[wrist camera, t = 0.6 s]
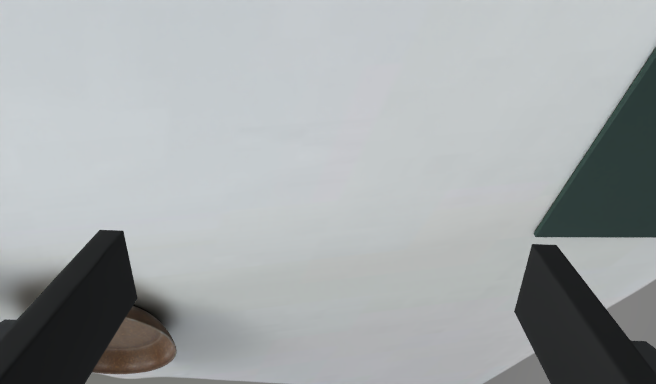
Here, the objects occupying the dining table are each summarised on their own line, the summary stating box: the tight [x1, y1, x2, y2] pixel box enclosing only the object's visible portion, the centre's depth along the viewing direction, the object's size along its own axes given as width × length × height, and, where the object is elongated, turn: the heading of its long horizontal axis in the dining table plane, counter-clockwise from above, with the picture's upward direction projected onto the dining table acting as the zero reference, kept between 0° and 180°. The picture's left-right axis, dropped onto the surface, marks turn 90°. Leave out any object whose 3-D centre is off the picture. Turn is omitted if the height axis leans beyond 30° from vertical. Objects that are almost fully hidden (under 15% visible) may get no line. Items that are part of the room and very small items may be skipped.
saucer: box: [92, 306, 176, 374], centre depth 47 cm, size 15×15×3 cm
